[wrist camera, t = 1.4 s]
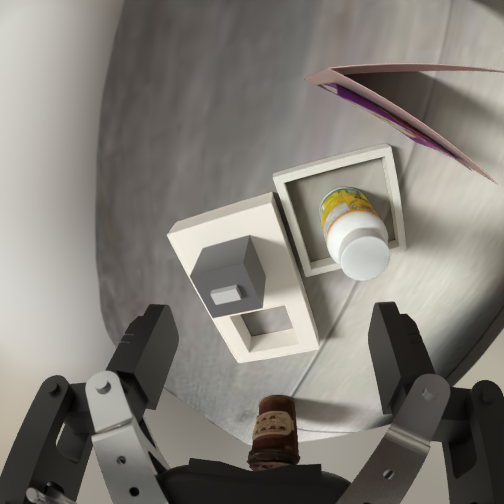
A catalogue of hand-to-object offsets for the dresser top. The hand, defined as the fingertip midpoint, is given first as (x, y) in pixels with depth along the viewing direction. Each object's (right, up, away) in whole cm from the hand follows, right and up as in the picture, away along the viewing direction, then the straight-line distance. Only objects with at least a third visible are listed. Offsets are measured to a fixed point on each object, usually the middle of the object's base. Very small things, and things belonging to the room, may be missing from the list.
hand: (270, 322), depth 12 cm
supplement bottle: (+9, +7, +19) cm, 22 cm away
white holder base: (0, -1, +24) cm, 24 cm away
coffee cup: (+4, -24, +37) cm, 44 cm away
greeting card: (+10, +18, +12) cm, 24 cm away
